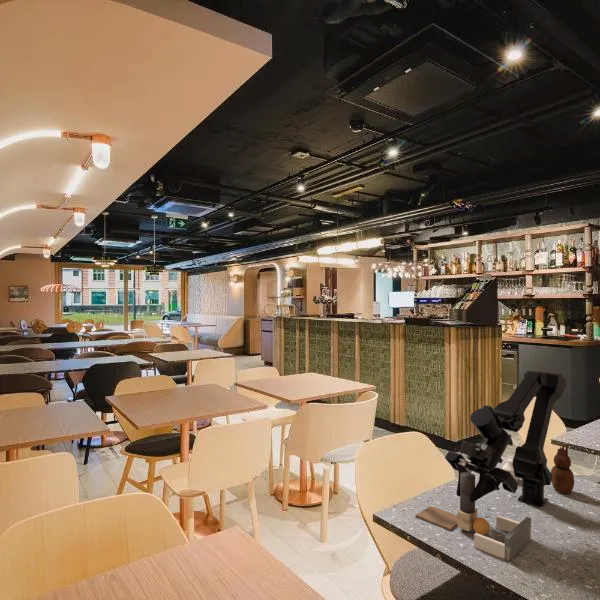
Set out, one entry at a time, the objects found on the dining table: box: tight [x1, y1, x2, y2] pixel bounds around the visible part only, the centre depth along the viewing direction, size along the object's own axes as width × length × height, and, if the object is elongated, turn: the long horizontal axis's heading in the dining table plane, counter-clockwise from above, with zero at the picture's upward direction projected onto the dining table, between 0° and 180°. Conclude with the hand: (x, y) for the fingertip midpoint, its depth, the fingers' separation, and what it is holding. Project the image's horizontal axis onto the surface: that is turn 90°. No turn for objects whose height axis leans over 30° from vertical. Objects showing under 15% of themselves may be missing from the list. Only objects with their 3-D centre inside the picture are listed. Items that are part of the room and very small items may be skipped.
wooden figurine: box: [550, 444, 575, 495], centre depth 136 cm, size 7×6×15 cm
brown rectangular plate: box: [415, 505, 457, 531], centre depth 117 cm, size 8×10×1 cm
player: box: [456, 472, 479, 532], centre depth 112 cm, size 5×4×13 cm
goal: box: [473, 514, 532, 562], centre depth 106 cm, size 14×8×5 cm, turn 134°
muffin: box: [502, 458, 521, 482], centre depth 144 cm, size 6×6×7 cm
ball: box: [472, 516, 491, 536], centre depth 109 cm, size 4×4×4 cm
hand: (464, 498), depth 111 cm, fingers closed on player, 4 cm apart
